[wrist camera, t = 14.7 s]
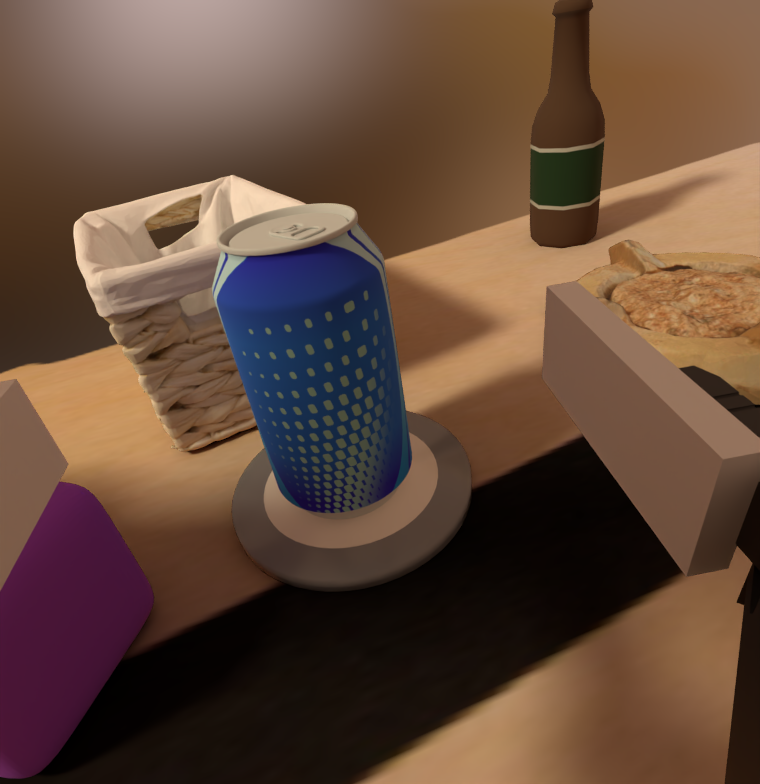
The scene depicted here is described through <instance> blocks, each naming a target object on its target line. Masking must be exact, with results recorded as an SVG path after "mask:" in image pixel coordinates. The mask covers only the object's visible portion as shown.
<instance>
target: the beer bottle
mask: <svg viewBox="0 0 760 784" xmlns="http://www.w3.org/2000/svg"><path fill="white" fill-rule="evenodd" d="M592 7H593V3H592V0H559V1H558V2H556V3H555V6H554V9H553V13H552V14H553V15H554V16H555V17H556V19H555V31H554V43H553V56H552V68H551V78H550V84H549V89H548V94H547V96H546V97H545V99H544V101H543V102H542V104H541V106H540V107H539V109H538V111H537V114H536V117H535V120H534V123H533V126H532V135H531V136H532V137H531V169H530V231H531V237H532V239H533V240H534V241H535V242H536V243H537V244H538V245H540V246H547V247H556V248H565V247H571V246H576V245H582V244H585V243H587V242H588V241H589V240H590V239H591V238H593V237H594V236H595V234H596V230H597V223H598V214H599V201H600V188H601V175H602V162H603V150H604V137H605V134H604V133H605V131H604V130H605V129H604V128H605V127H604V126H605V119H604V115H603V112H602V108H601V105H600V102H599V101H598V99H597V97H596V96H595V94H594V92H593V91H592V89H591V84H590V75H589V11H590V10H591V9H592Z"/></svg>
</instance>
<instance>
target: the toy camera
mask: <svg viewBox="0 0 760 784" xmlns="http://www.w3.org/2000/svg"><path fill="white" fill-rule="evenodd" d="M153 603H154V595H153V591H152V588H151V586H150V584H149V582H148V580H147V578H146V576H145V574H144V573H143V571H142V569H141V568H140V566H139V564H138V563H137V561H136V559H135V558H134V556H133V554H132V553H131V551H130V550H129V548H128V546H127V545H126V543H125V541H124V540H123V538H122V536H121V535H120V533H119V532H118V530H117V528H116V527H115V525H114V523H113V522H112V520H111V518H110V517H109V515H108V514H107V512H106V511H105V509H104V508H103V506H102V505H101V503H100V502H99V501H98V499H97V498H96V497H95V496H94V495H93V494H92V493H91V492H90V491H89V490H87V489H86V488H84V487H81V486H79V485H76V484H71V483H66V482H59V483H58V485H57V486H56V488H55V490H54V492H53V494H52V496H51V498H50V500H49V501H48V503H47V505H46V507H45V509H44V511H43V513H42V514H41V516H40V518H39V520H38V522H37V524H36V526H35V527H34V529H33V531H32V533H31V535H30V537H29V539H28V540H27V542H26V544H25V546H24V548H23V550H22V552H21V553H20V555H19V557H18V559H17V561H16V563H15V565H14V566H13V568H12V570H11V572H10V574H9V576H8V578H7V579H6V581H5V583H4V585H3V587H2V589H1V591H0V777H5V778H27V777H31V776H34V775H36V774H38V773H39V772H41V771H42V770H43V769H44V768H45V767H46V766H47V765H48V764H50V762H51V761H52V760H53V759H54V758H55V756H56V755H57V754H58V753H59V751H60V750H61V749H62V747H63V746H64V745H65V743H66V742H67V740H68V739H69V737H70V736H71V735H72V733H73V732H74V730H75V729H76V727H77V726H78V724H79V723H80V721H81V720H82V718H83V717H84V715H85V714H86V712H87V711H88V709H89V708H90V706H91V705H92V703H93V702H94V700H95V698H96V697H97V695H98V694H99V692H100V691H101V689H102V688H103V686H104V685H105V683H106V682H107V680H108V679H109V677H110V676H111V674H112V673H113V671H114V670H115V668H116V667H117V665H118V663H119V662H120V660H121V659H122V657H123V656H124V654H125V653H126V651H127V650H128V648H129V647H130V645H131V644H132V642H133V641H134V639H135V637H136V636H137V634H138V633H139V631H140V630H141V628H142V626H143V625H144V623H145V621H146V620H147V618H148V616H149V614H150V612H151V609H152V607H153Z"/></svg>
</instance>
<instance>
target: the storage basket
mask: <svg viewBox="0 0 760 784" xmlns="http://www.w3.org/2000/svg"><path fill="white" fill-rule="evenodd" d="M298 205H306V204H305V203H303V202H301V201H298V200H295V199H293V198H290V197H288V196H284V195H282V194H279V193H277V192H274V191H271V190H268V189H266V188H263V187H261V186H259V185H257V184H254V183H252V182H250V181H247V180H245V179H242V178H239V177H236V176H234V175H231V176H229V177H223V178H219V179H217V180H214V181H211V182H207V183H202V184H198V185H194V186H190V187H186V188H182V189H177V190H173V191H170V192H166V193H161V194H158V195H154V196H150V197H146V198H143V199H140V200H136V201H133V202H129V203H125V204H121V205H117V206H113V207H109V208H104V209H100V210H97V211H92V212H87V213H85V214H84V215H83V216H82V217H81V218H80V219H79V220H77V221H76V222H75V225H74V242H75V249H76V259H77V263H78V266H79V268H80V271H81V273H82V275H83V277H84V279H85V281H86V286H87V289H88V291H89V293H90V295H91V297H92V299H93V301H94V303H95V306H96V309H97V312H98V314H99V315H100V316H102V317H103V318H104V319H105V320H107V321H108V322H109V323H110V324H111V325H110V331H111V333H112V335H113V337H114V338H115V340H116V342H117V343H118V344H119V345H123V353H124V355H125V356H126V357H127V358H128V359H129V360H130V362H131V363H132V364H133V367H134V369H135V371H136V372H137V374H139V375H140V376H139V378H138V381H139V384H140V385H141V387H142V388H143V390H144V392H146V393H147V394H148V395H149V397H150V398H151V402H152V406H153V408H154V410H155V413H156V415H157V417H158V419H159V421H160V422H161V423H162V426H163V428H164V430H165V431H166V433H167V434H168V435H169V436H170V437H171V438H172V440H173V442H174V444H175V446H173V445H172V446H171V448H173V449H175V448H176V449H177V450H179V451H181V452H186V451H189V450H195V449H199V448H201V447H204V446H206V445H208V444H210V443H212V442H214V441H219V440H223V439H225V438H227V437H230V436H231V435H233V434H235V433H237V432H239V431H244V430H247V429H250V428H252V427H254V426H256V425H257V424H256V421H255V418H254V415H253V412H252V409H251V406H250V403H249V400H248V397H247V395H246V392H245V389H244V386H243V383H242V380H241V377H240V374H239V371H238V368H237V365H236V362H235V360H234V357H233V354H232V351H231V348H230V345H229V342H228V339H227V336H226V333H225V330H224V327H223V325H222V322H221V319H220V316H219V313H218V310H217V307H216V304H215V301H214V298H213V294H212V286H213V281H214V278H215V274H216V270H217V266H218V262H219V258H220V254H221V250H220V249H219V248H218V246H217V237H218V235H219V234H220V233H221V232H222V231H223V230H225V229H226V228H228V227H229V226H231V225H233V224H235V223H237V222H239V221H242V220H244V219H246V218H249V217H252V216H255V215H258V214H261V213H265V212H268V211H272V210H277V209H281V208H286V207H292V206H298ZM196 220H199V224H198V225H197V226H196V227H195V228H194V229H193V230H191V231H190V232H188V233H187V234H185V235H184V236H183V237H182V238H180V239H179V240H177V241H176V242H175V243H173V244H171V245H170V246H167V247H164V248H162V249H160V250H159V249H157V248H156V246H155V245H154V243H153V241H152V239H151V238H150V236H149V233H148V231H151V230H155V229H159V228H164V227H168V226H173V225H177V224H182V223H186V222H191V221H196Z"/></svg>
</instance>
